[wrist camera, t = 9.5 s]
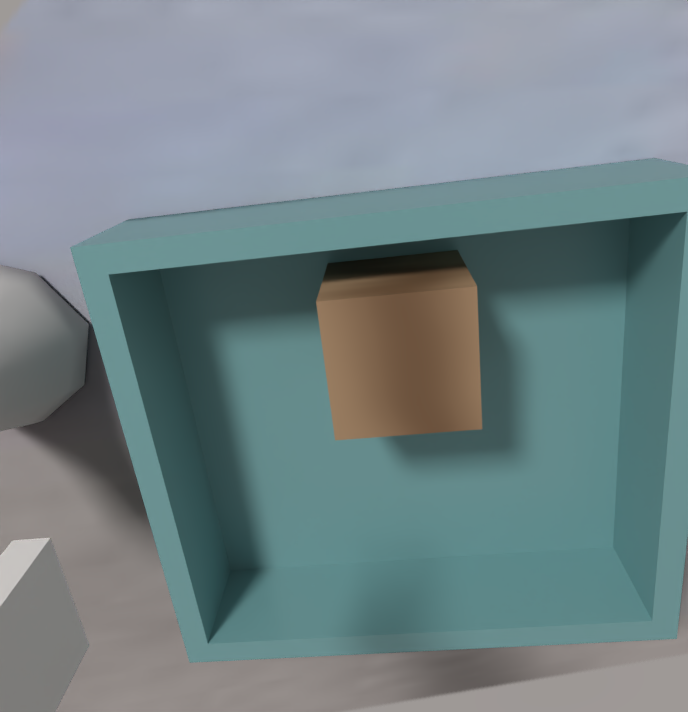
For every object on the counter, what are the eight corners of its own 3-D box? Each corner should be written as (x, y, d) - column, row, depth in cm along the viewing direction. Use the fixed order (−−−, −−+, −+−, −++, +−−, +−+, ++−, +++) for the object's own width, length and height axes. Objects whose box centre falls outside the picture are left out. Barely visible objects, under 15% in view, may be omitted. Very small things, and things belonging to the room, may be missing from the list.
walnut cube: (342, 379, 26) (335, 440, 21) (327, 263, 24) (316, 301, 20) (463, 369, 26) (482, 429, 21) (457, 249, 24) (477, 286, 19)
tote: (217, 579, 31) (189, 662, 27) (128, 219, 24) (69, 247, 20) (629, 554, 29) (676, 638, 25) (654, 158, 23) (726, 172, 18)
